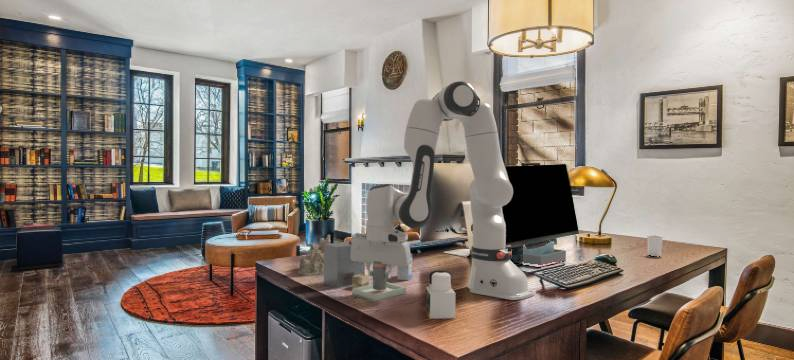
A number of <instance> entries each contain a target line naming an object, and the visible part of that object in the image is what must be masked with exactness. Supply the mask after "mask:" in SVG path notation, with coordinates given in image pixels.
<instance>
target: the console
mask: <svg viewBox="0 0 794 360" xmlns="http://www.w3.org/2000/svg"><path fill="white" fill-rule="evenodd" d="M351 246H352V244H351V240H349V241H341V242H333V243H331V244H324V275H323V285H326V286H329V287H331V288H336V289H341V288H344V287H345V288H347V287H351V286H353V276H355V275H359V274H362V275H366V266H365V262H356V261H352V260H351V258H350V253H351Z"/></svg>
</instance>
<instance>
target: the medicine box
mask: <svg viewBox="0 0 794 360" xmlns="http://www.w3.org/2000/svg"><path fill="white" fill-rule="evenodd" d="M410 255H411V261H410V263H409V264H408V265H406V266H399V265H396V277H397V278H396V279H397V280H398V281H410V280H411V278H412V276H413V253H410Z"/></svg>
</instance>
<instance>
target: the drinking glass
mask: <svg viewBox="0 0 794 360" xmlns="http://www.w3.org/2000/svg"><path fill="white" fill-rule="evenodd" d="M663 237H664V236H663V235H658V234H647V235H646V240H647V241H646V243H647V256H648V255H653V256H660V255H661V256H662V250H663Z"/></svg>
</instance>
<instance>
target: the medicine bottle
mask: <svg viewBox="0 0 794 360" xmlns="http://www.w3.org/2000/svg"><path fill="white" fill-rule="evenodd" d="M428 283H429V285H428V286H425V313H426V315H427V317H428V319H430V320H434V319H435V320H439V319H442V320H443V319H455V318H456V292H455V291H454V289H453V288H452V273H450V272H449V271H447V270H433V271H430V273H429V282H428Z"/></svg>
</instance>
